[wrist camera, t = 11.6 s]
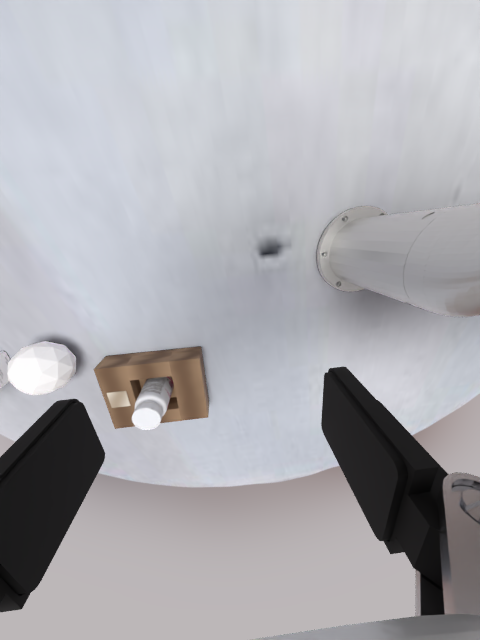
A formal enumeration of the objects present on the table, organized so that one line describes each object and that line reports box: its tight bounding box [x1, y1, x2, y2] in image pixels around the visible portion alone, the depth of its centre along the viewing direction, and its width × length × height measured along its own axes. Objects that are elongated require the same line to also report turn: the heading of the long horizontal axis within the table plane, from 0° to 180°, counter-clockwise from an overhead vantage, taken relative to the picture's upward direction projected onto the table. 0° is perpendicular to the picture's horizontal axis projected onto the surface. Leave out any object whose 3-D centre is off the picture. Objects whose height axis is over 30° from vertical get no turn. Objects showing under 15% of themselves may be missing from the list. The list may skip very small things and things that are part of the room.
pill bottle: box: [132, 376, 174, 430], centre depth 35 cm, size 5×5×8 cm
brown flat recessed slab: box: [94, 346, 209, 429], centre depth 38 cm, size 16×12×4 cm
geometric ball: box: [7, 341, 76, 395], centre depth 33 cm, size 8×8×8 cm
